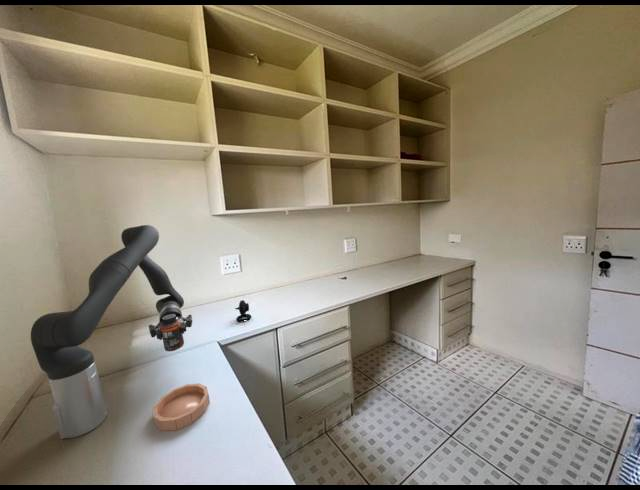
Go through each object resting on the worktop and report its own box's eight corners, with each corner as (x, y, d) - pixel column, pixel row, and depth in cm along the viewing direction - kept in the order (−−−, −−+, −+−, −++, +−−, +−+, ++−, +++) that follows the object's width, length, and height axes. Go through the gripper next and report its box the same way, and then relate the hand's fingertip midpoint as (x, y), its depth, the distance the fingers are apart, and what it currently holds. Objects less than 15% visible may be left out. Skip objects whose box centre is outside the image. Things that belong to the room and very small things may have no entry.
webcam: (250, 321, 131) (248, 302, 129) (235, 323, 130) (232, 304, 128) (252, 314, 139) (249, 297, 137) (237, 316, 137) (235, 299, 136)
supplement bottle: (180, 340, 92) (174, 311, 90) (187, 345, 88) (182, 314, 87) (161, 348, 88) (155, 317, 86) (168, 354, 84) (162, 322, 82)
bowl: (154, 439, 66) (152, 429, 65) (156, 405, 78) (154, 396, 77) (212, 414, 73) (210, 404, 72) (205, 385, 85) (204, 377, 84)
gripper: (146, 312, 95) (143, 330, 81) (189, 302, 102) (194, 317, 88) (150, 331, 96) (148, 352, 82) (192, 320, 103) (197, 337, 89)
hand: (172, 333), depth 85 cm, fingers closed on supplement bottle, 6 cm apart
